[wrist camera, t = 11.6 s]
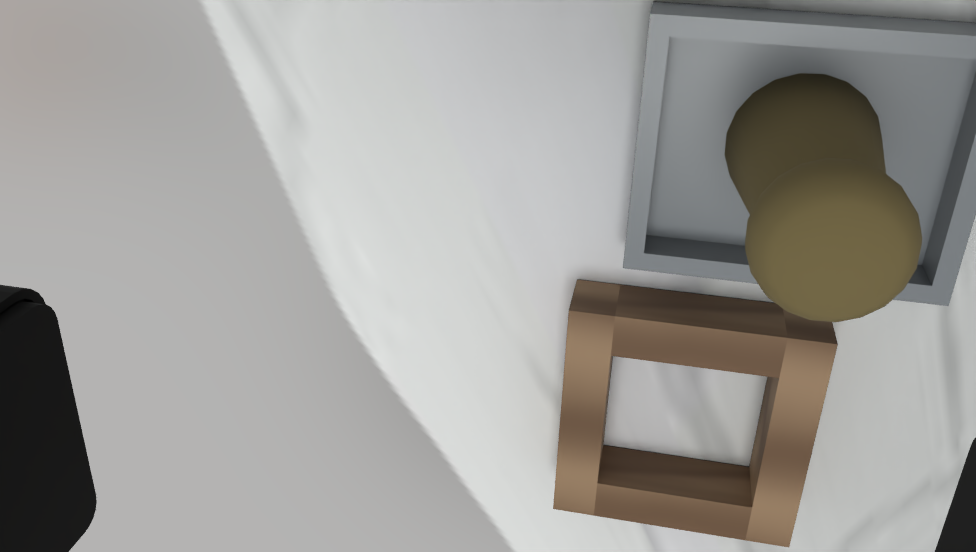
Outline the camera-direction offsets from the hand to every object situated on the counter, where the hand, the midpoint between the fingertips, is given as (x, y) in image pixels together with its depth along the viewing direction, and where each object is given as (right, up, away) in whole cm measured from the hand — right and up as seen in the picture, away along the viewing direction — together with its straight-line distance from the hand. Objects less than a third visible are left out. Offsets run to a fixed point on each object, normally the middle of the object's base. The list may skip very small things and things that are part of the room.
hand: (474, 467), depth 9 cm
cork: (+13, +7, +28) cm, 31 cm away
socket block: (+10, -4, +35) cm, 36 cm away
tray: (+13, +7, +28) cm, 32 cm away
